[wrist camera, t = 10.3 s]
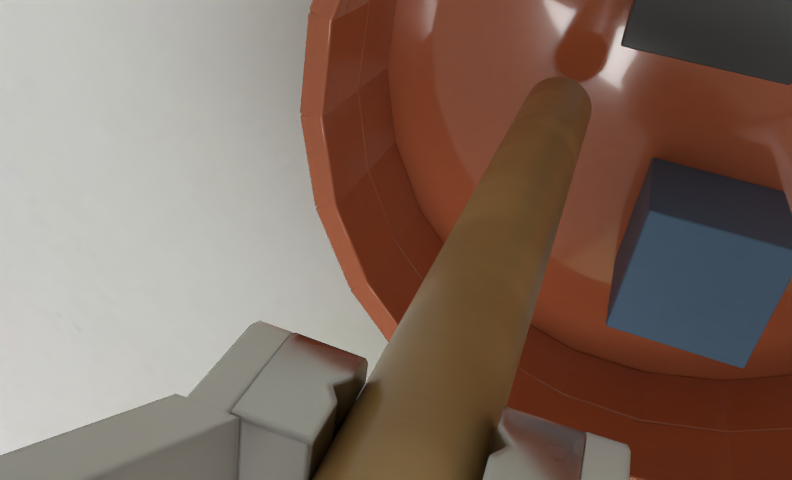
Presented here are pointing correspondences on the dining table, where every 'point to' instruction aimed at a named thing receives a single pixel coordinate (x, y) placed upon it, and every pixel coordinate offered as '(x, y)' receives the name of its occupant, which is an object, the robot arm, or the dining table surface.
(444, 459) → the stirring stick
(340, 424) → the robot arm
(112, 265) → the dining table surface
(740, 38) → the charcoal block
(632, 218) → the blue block
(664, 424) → the mixing bowl
